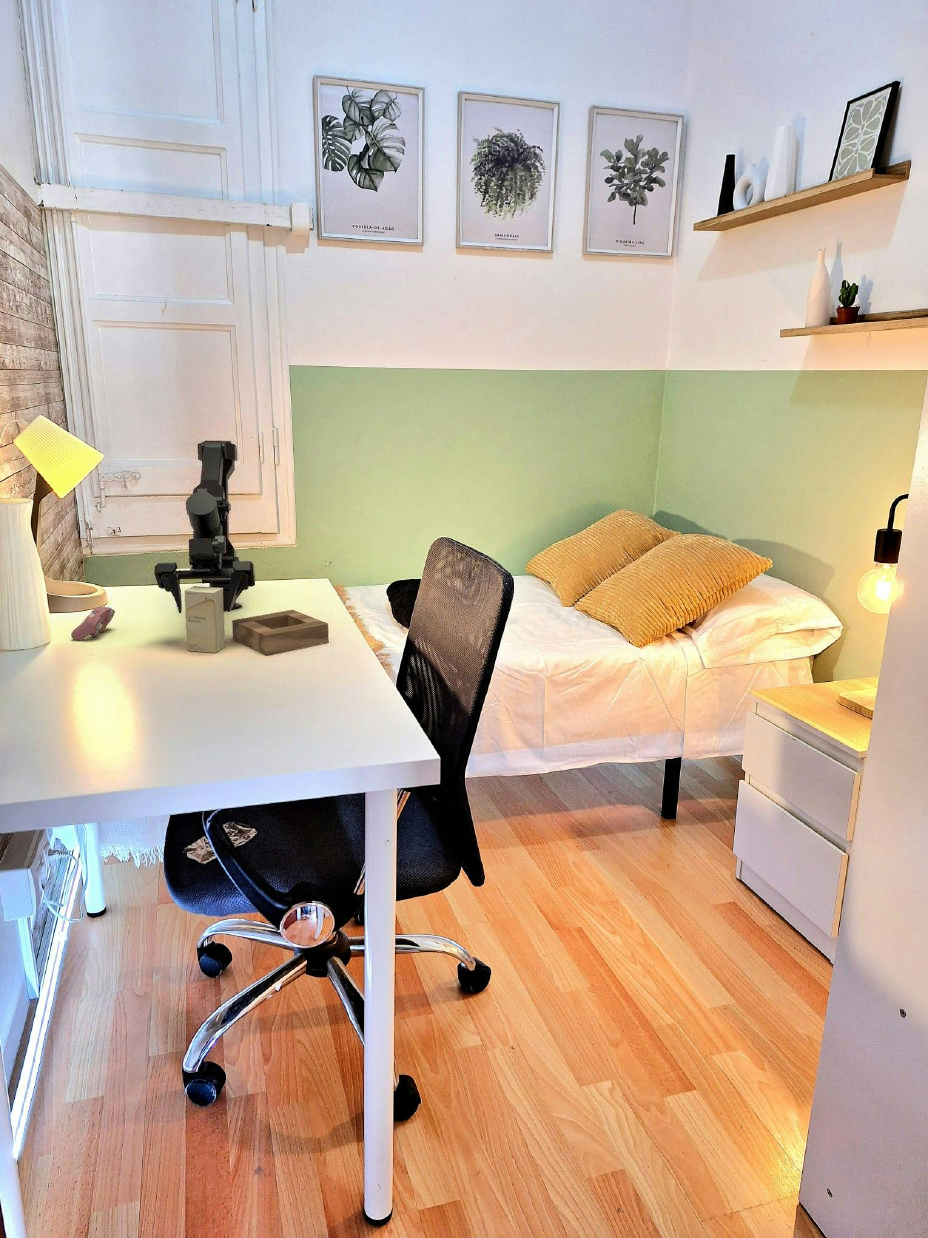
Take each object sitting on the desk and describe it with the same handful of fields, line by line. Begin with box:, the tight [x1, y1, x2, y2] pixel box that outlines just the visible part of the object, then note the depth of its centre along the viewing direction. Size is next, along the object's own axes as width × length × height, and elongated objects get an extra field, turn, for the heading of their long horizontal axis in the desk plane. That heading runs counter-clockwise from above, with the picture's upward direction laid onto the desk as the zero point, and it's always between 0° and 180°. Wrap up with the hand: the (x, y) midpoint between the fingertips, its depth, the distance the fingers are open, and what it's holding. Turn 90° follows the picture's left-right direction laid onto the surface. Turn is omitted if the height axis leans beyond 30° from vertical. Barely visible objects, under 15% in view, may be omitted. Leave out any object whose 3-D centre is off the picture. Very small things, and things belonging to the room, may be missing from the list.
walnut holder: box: [231, 609, 329, 656], centre depth 171 cm, size 14×14×4 cm
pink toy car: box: [70, 605, 116, 641], centre depth 173 cm, size 10×5×7 cm, turn 179°
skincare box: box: [184, 585, 226, 654], centre depth 163 cm, size 6×4×12 cm
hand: (204, 611), depth 163 cm, fingers open, 9 cm apart
